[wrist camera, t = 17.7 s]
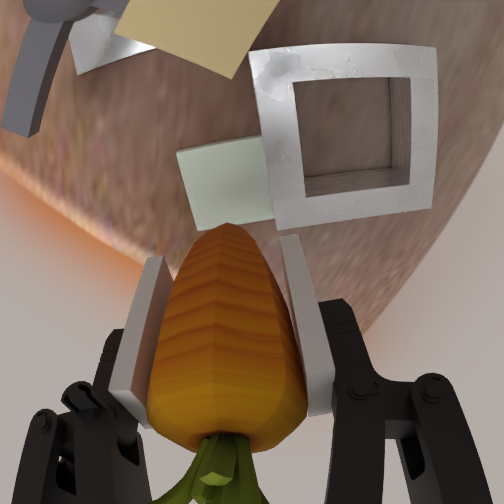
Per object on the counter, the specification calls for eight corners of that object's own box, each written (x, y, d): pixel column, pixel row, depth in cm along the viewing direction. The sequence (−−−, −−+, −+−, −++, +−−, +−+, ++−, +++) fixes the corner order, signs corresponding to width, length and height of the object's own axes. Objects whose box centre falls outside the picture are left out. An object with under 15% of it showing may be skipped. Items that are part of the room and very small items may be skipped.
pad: (268, 133, 20) (269, 135, 19) (280, 213, 23) (281, 217, 23) (177, 150, 20) (175, 152, 20) (198, 226, 24) (197, 231, 23)
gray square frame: (412, 45, 16) (436, 47, 14) (412, 189, 22) (431, 208, 20) (246, 51, 17) (248, 51, 14) (272, 208, 23) (276, 230, 21)
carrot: (233, 279, 19) (240, 560, 7) (162, 232, 17) (95, 545, 5) (294, 223, 17) (372, 545, 5) (221, 164, 15) (197, 569, 3)
